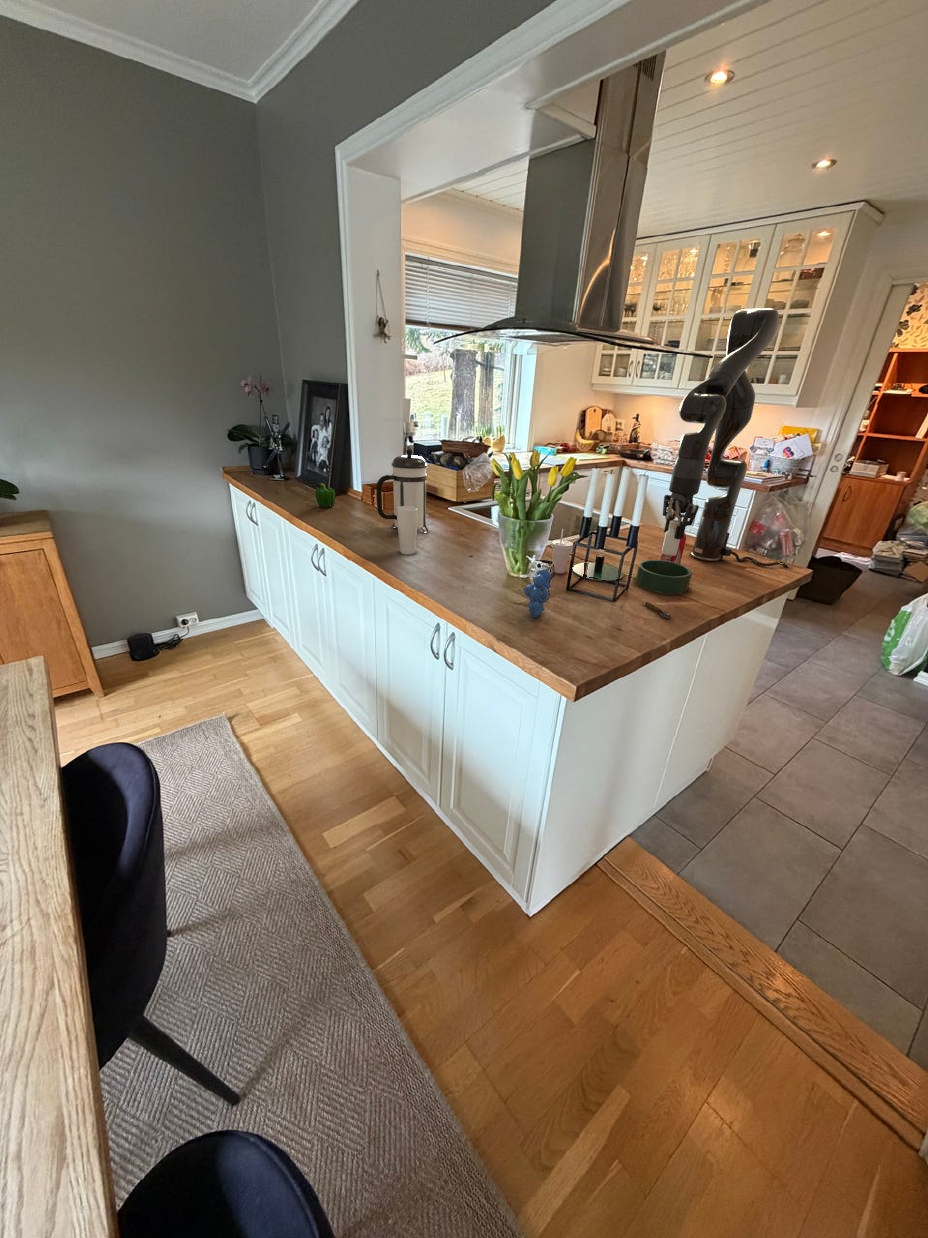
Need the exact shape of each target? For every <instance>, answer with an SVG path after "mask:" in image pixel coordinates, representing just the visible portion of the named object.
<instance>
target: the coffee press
mask: <svg viewBox="0 0 928 1238" xmlns="http://www.w3.org/2000/svg"><path fill="white" fill-rule="evenodd" d="M405 453H406V455H405V454H404V455H398V456H396V457H394V459H393V461H392V462H391V467H392V473H391V474H385V475H382V476H381V477H379V479H378V480H377V482H376V487H375V488H376V489H375V490H376V491H375V493H376V497H375V498H376V509H377V510H376V511H377V512H378V515H379V516H380V517H381V518H382V519H385V520H394V521H393V523H392V528H393V529H396V528H397V529H398V525H397V508H398V507H401V506H413V507H416V508H417V509H418V525H417V531H418V530H421V531H422V533H424V534H426V533H428V532H429V528H428V527H427V514H426V513H427V478H428V476H427V472H430V467H428V463H427V462H426V460H425V459H424V458H423V456H418V455H412V454H413V450H412V449H411V448H407V449H406V451H405ZM386 481H392V486H393V513H392V514H387V513H385V512H384V511H383V492H382V487H383V485H384V483H385V482H386Z"/></svg>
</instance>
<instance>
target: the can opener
mask: <svg viewBox="0 0 928 1238" xmlns="http://www.w3.org/2000/svg"><path fill="white" fill-rule="evenodd" d="M645 606H647V608H650V609H651V610H654V611H655V612H656V613H659V615H660V617H662V618H665V619H670V618H671V614H670V613H669V612H668V611H663V610H662V609H661V608H660V607H657V606H656V605H655V604H653V603H651V602H649V601H646V602H645Z"/></svg>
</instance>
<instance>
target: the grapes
mask: <svg viewBox="0 0 928 1238" xmlns="http://www.w3.org/2000/svg"><path fill="white" fill-rule="evenodd" d="M551 578H552V575H551V572H550V571H549V570H548V568H546V567H541V568H540V569H539V570H537V572H536V576H535V577H534V578H533V579H532V583H529V584H527V585H526V586H525V587H524V588H523V593H524V594H525V596H526V597H528V598H529V603H527V607H528V611H529V614H530V616H531V617H532V618H537V617H539V616H540V615H541V614H542V613H543V612H544V611H545V606H544V603H546V602H547V601H549V595H550V593H549V589H550V588H552V586H551V582H550V580H551Z"/></svg>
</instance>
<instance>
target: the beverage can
mask: <svg viewBox="0 0 928 1238" xmlns="http://www.w3.org/2000/svg"><path fill="white" fill-rule="evenodd" d="M686 534H687V533H686V531H685V532H684V536H683V538H682V539H680V542H679V546H678V550H677V554H676V555H675V556H672V555H665V554H662V553H661V555H660V559H659V560H663V561H670V562H674V563H678V564H681V562H682V558H683V554H684V550H685V546H686V542H687V535H686Z"/></svg>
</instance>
